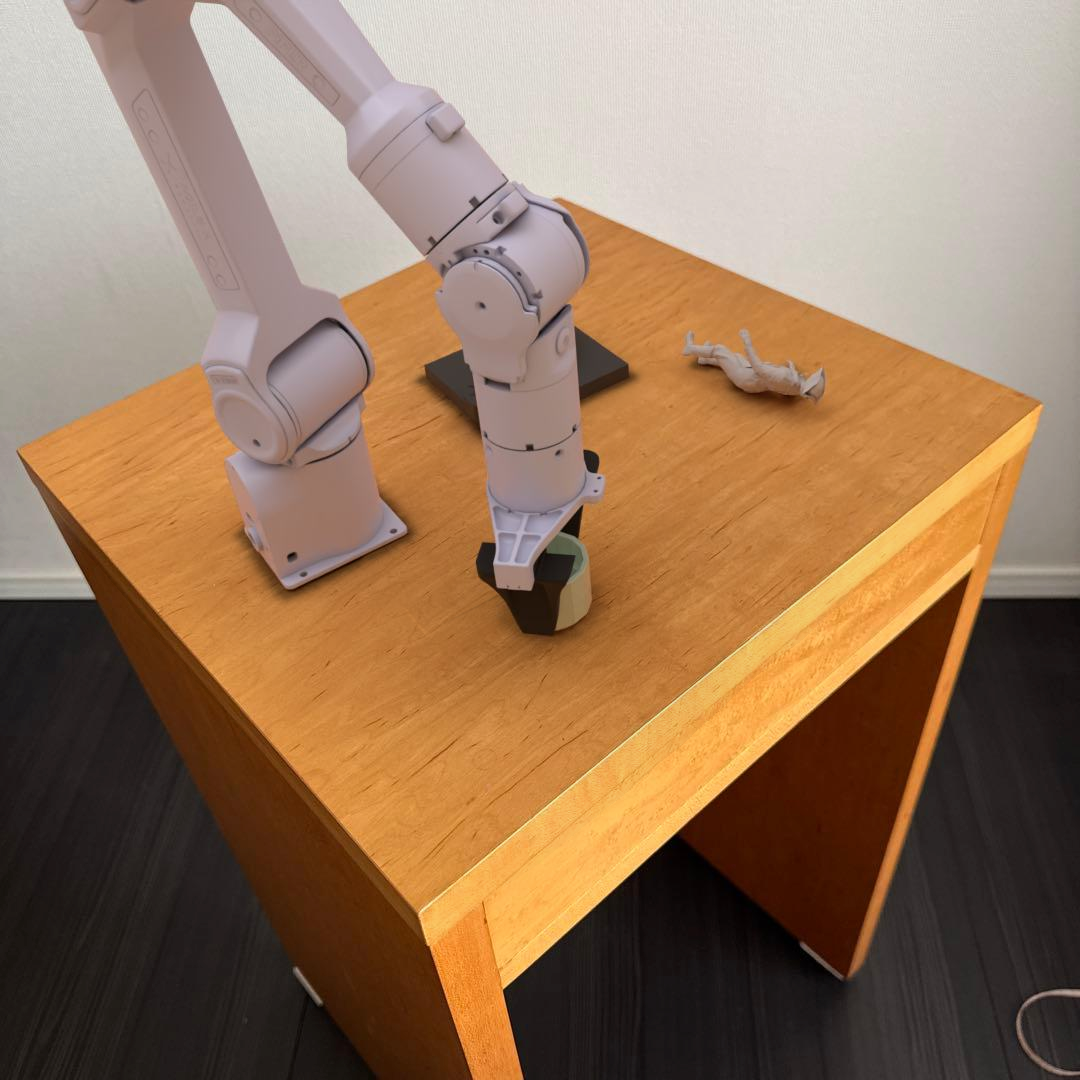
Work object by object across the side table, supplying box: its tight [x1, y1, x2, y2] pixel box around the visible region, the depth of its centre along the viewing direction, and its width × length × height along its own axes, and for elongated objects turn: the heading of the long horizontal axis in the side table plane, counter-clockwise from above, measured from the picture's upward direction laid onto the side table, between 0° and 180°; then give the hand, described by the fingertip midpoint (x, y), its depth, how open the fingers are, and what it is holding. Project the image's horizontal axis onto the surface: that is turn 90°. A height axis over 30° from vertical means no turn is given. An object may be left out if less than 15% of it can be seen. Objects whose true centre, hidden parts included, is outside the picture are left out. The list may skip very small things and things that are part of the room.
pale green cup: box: [546, 531, 593, 632], centre depth 72 cm, size 5×5×4 cm
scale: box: [424, 325, 630, 427], centre depth 92 cm, size 14×12×3 cm
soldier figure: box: [681, 328, 827, 406], centre depth 88 cm, size 8×5×12 cm
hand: (549, 590), depth 72 cm, fingers open, 6 cm apart
